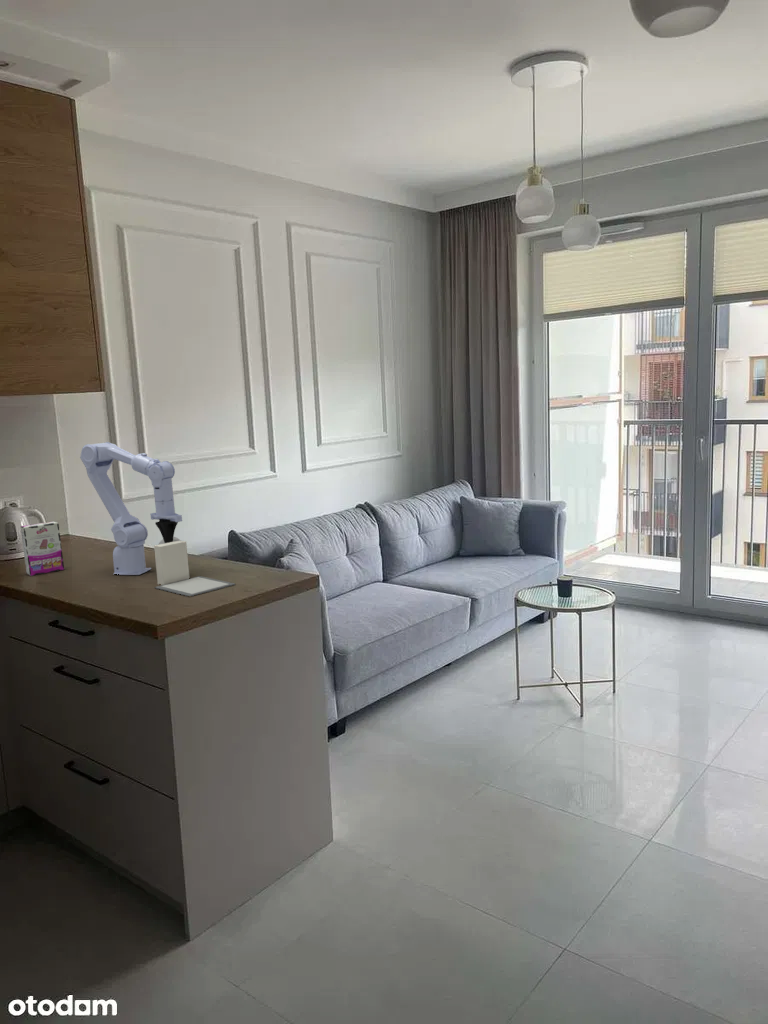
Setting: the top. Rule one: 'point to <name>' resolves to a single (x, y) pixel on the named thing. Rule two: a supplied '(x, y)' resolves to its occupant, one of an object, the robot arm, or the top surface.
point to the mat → (194, 586)
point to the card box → (171, 562)
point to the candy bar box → (42, 548)
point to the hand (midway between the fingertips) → (168, 542)
